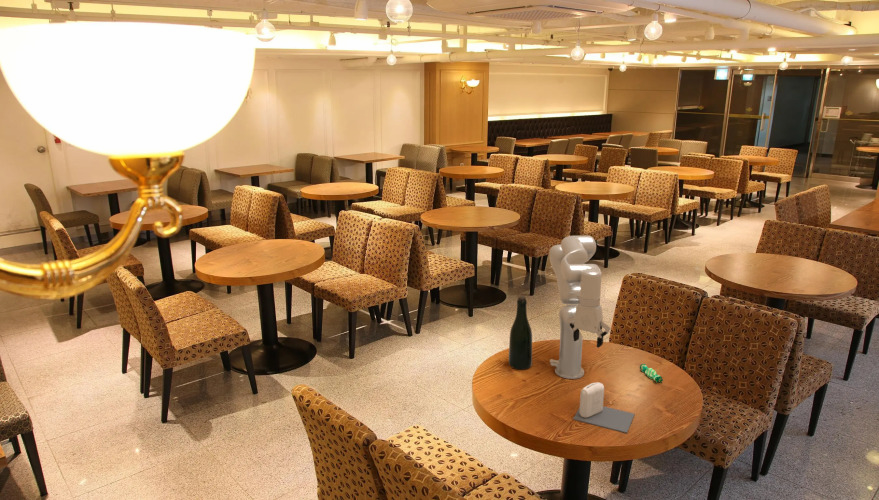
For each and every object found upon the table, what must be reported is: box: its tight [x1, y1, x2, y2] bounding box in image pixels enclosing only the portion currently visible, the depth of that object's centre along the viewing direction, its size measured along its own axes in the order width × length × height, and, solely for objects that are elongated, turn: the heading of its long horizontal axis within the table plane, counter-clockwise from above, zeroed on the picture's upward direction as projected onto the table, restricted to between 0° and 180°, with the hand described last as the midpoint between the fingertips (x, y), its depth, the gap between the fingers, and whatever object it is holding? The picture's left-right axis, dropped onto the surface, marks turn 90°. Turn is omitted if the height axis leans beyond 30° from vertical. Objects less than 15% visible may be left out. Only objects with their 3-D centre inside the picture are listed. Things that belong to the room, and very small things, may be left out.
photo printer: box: [579, 381, 605, 418], centre depth 226 cm, size 10×4×12 cm, turn 123°
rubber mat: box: [572, 405, 635, 434], centre depth 225 cm, size 20×14×1 cm
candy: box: [639, 363, 664, 384], centre depth 255 cm, size 12×3×4 cm
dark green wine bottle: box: [508, 295, 533, 370], centre depth 263 cm, size 10×10×33 cm
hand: (587, 343), depth 228 cm, fingers open, 9 cm apart
